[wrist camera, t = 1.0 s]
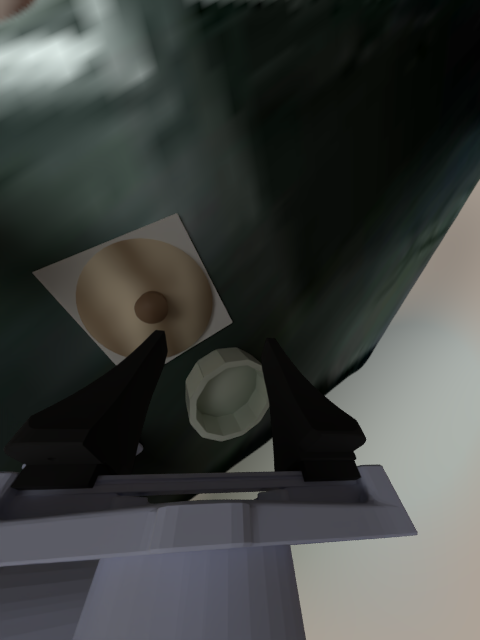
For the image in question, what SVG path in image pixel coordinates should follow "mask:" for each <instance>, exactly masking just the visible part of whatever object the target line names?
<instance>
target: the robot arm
mask: <svg viewBox="0 0 480 640" xmlns="http://www.w3.org/2000/svg"><path fill="white" fill-rule="evenodd" d="M167 353H168V348H167V341H166V335H165V331H162V330H155V331H154V332H153V333H152V334H151V335H150V336H149V337H148V338H147V339H146V340H145V341H144V342H143V343H142V344H141V345H140V346H138V347H137V348H136V349H135V350H134V351H133V352H132V353H131V354H130V355H128V356H127V357H126V358H125V359H124V360H123V361H121V362H120V363H119V364H118V365H116V366H115V367H114V368H113V369H111V370H110V371H108V372H107V373H106V374H104V375H103V376H101V377H100V378H98V379H97V380H95V381H94V382H92V383H91V384H89V385H88V386H86V387H84V388H83V389H81V390H79V391H78V392H76V393H74V394H73V395H71V396H69V397H67V398H65V399H64V400H62V401H60V402H58V403H56V404H54V405H52V406H50V407H48V408H46V409H44V410H42V411H40V412H38V413H36V414H34V415H32V416H31V417H30V418H29V419H28V420H27V421H26V422H25V423H24V424H23V426H22V427H21V428H20V429H19V430H18V432H17V433H16V434H15V435H14V436H13V438H12V439H11V440H10V441H9V442H8V444H7V445H6V446H5V448H4V452H5V454H7V455H8V456H10V457H12V458H14V459H16V460H18V461H19V462H21V463H23V464H24V465H23V466H22V469H23V470H22V471H21V473H18V472H0V640H306V638H305V632H304V625H303V619H302V614H301V608H300V601H299V595H298V589H297V584H296V578H295V571H294V565H293V560H292V554H291V548H290V545H297V544H311V543H324V542H336V541H348V540H349V541H350V540H363V539H376V538H389V537H400V536H413V535H417V531H416V529H415V527H414V525H413V523H412V521H411V520H410V518H409V516H408V514H407V512H406V510H405V508H404V506H403V505H402V503H401V501H400V499H399V497H398V495H397V493H396V491H395V490H394V488H393V486H392V484H391V482H390V480H389V478H388V476H387V475H386V473H385V471H384V469H383V467H382V466H381V465H360V466H356V464H355V461H354V460H355V459H356V456H355V454H354V452H353V451H354V450H356V449H357V448H359V447H360V446H362V445H363V444H364V443H365V441H366V437H365V435H364V433H363V432H362V429H361V428H360V426H359V424H358V422H357V421H356V420H355V419H353V418H352V417H351V416H349V415H348V414H347V413H345V412H344V411H342V410H341V409H340V408H338V407H337V406H336V405H335V404H333V403H332V402H331V401H329V400H328V399H327V398H326V397H325V396H324V395H323V394H321V393H320V392H319V391H318V390H317V389H316V388H315V387H314V386H313V385H312V384H311V383H310V382H309V381H308V380H307V379H306V378H305V377H304V376H303V375H302V374H301V373H300V372H299V370H298V369H297V368H296V367H295V365H294V364H293V363H292V362H291V360H290V359H289V358H288V356H287V355H286V354H285V352H284V351H283V349H282V348H281V346H280V345H279V344H278V342H277V341H276V339H275V338H267V339H266V342H265V345H264V349H263V352H262V355H261V363H262V371H263V376H264V381H265V385H266V390H267V395H268V400H269V406H270V415H271V425H272V437H273V450H274V469H275V472H235V473H190V474H145V475H131V474H132V470H133V466H134V461H135V457H136V455H137V454H139V453H140V452H142V450H143V446H142V445H141V444H140V443H139V440H140V436H141V432H142V428H143V425H144V421H145V417H146V414H147V410H148V407H149V404H150V400H151V397H152V395H153V392H154V390H155V387H156V385H157V382H158V380H159V377H160V375H161V372H162V370H163V367H164V364H165V361H166V357H167ZM256 491H266V492H260V493H258V498H256V499H254V500H197V501H181V502H170V503H160V504H151V503H149V502H148V499H147V497H135V496H146V495H174V494H202V493H230V492H256Z"/></svg>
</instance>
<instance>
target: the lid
mask: <svg viewBox="0 0 480 640" xmlns="http://www.w3.org/2000/svg"><path fill="white" fill-rule="evenodd" d="M76 305H77V310H78V313H79V316H80V318H81V321H82V323H83V324H84V326H85V328H86V329H87V331H88V332H89V333H90V334H91V336H92V337H93V338H94V339H95V340H96V341H98V342H99V343H100V344H101V345H103V346H104V347H105V348H107V349H109V350H111V351H112V352H114V353H117V354H119V355H121V356H125V357H127V356H128V355H130V354H131V353H132V352H133V351H134V350H135V349H136V348H137V347H138V346H140V345H141V344H142V343H143V342H144V341H145V340H146V339H147V338H148V337H149V336H150V335H151V334H152V333H153V332H154V331H155V330H162V331H165V335H166V341H167V348H168V353H167V357H171V356H174V355H176V354H179V353H181V352H182V351H184V350H186V349H187V348H189V347H190V346H192V345H193V344H194V343H195V342H196V341H197V340H198V339H199V338H200V337H201V335H202V334H203V332H204V331H205V329H206V327H207V325H208V323H209V320H210V318H211V313H212V306H213V299H212V292H211V288H210V284H209V282H208V279H207V277H206V275H205V274H204V272H203V270H202V269H201V268H200V266H199V265H198V264H197V263H196V262H195V261H194V260H193V259H192V258H191V257H190V256H189V255H188V254H186V253H185V252H184V251H182V250H180V249H179V248H177V247H175V246H173V245H171V244H168V243H165V242H162V241H158V240H153V239H144V238H137V239H128V240H122V241H119V242H116V243H113V244H111V245H109V246H107V247H105V248H103V249H102V250H100V251H99V252H98V253H96V254H95V255H94V256H93V257H92V258H91V259H90V260H89V261H88V262H87V264H86V265H85V267H84V268H83V270H82V272H81V274H80V276H79V279H78V282H77V287H76ZM167 357H166V358H167Z"/></svg>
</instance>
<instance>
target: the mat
mask: <svg viewBox="0 0 480 640" xmlns="http://www.w3.org/2000/svg"><path fill="white" fill-rule="evenodd" d="M137 238H144V239H153V240H158V241H162V242H165V243H168V244H171V245H173V246H175V247H177V248H179V249H180V250H182V251H184V252H185V253H186V254H188V255H189V256H190V257H191V258H192V259H193V260H194V261H195V262H196V263H197V264H198V265H199V266H200V268H201V269H202V270H203V272H204V274H205V275H206V277H207V279H208V282H209V284H210V288H211V292H212V299H213V306H212V313H211V318H210V320H209V323H208V325H207V327H206V329H205V331H204V332H203V334H202V335H201V337H200V338H199V339H198V340H197V341H196V342H195V343H194V344H193V345H192V346H190V347H189V348H187V349H186V350H184V351H182V352H181V353H179V354H176V355H174V356H171V357H167V358H166V361H165V363H167V362H169V361H170V360H172V359H174V358H175V357H177V356H179V355H180V354H182V353H183V352H185V351H187V350H188V349H190V348H192V347H193V346H195V345H197V344H198V343H200V342H202V341H203V340H205V339H206V338H208V337H210V336H211V335H213V334H215V333H216V332H218V331H220V330H221V329H223V328H224V327H226V326H228V325H229V324H231V323H233V322H232V320H231V318H230V316H229V315H228V313H227V311H226V309H225V307H224V305H223V303H222V301H221V299H220V297H219V295H218V293H217V291H216V289H215V287H214V285H213V283H212V281H211V279H210V277H209V275H208V273H207V271H206V269H205V267H204V265H203V263H202V261H201V259H200V257H199V255H198V253H197V251H196V249H195V247H194V246H193V244H192V242H191V240H190V238H189V236H188V234H187V232H186V230H185V228H184V226H183V224H182V222H181V220H180V218H179V216H178V214H177V213H176V214H174V215H171V216H169V217H167V218H164V219H162V220H159V221H157V222H154V223H152V224H149V225H147V226H144V227H142V228H140V229H137V230H135V231H132V232H130V233H127V234H125V235H122V236H120V237H118V238H115V239H113V240H110V241H108V242H105V243H103V244H100V245H98V246H96V247H93V248H91V249H88V250H86V251H83V252H81V253H78V254H76V255H73V256H71V257H69V258H66V259H64V260H61V261H59V262H56V263H54V264H51V265H49V266H47V267H44V268H42V269H39V270H37V271H34V272H32V273H33V274H34V275H35V277H36V278H37V279H38V280H39V281H40V282H41V283H42V284H43V285H44V286H45V288H46V289H47V290H48V291H49V292H50V293H51V294H52V295H53V296H54V297H55V299H56V300H57V301H58V302H59V303H60V304H61V305H62V306H63V307H64V308H65V310H66V311H67V312H68V313H69V314H70V315H71V316H72V317H73V318H74V319H75V321H76V322H77V323H78V324H79V325H80V326H81V327H82V328H83V329H84V330H85V332H86V333H87V334H88V335H89V336H90V337H91V338H92V339H93V340H94V341H95V342H96V344H97V345H98V346H99V347H100V348H101V349H102V350H103V351H104V352H105V353H106V355H107V356H108V357H109V358H110V359H111V360H112V361H113V362H114V363H115V364H116V365H118V364H119V363H120V362H121V361H123V360H124V359H125V358H126V357H125V356H121V355H119V354H117V353H114V352H112V351H111V350H109V349H107V348H105V347H104V346H103V345H101V344H100V343H99V342H98V341H96V340H95V339H94V338H93V337H92V336H91V334H90V333H89V332H88V331H87V329H86V328H85V326H84V324H83V323H82V321H81V318H80V316H79V313H78V310H77V305H76V287H77V282H78V279H79V276H80V274H81V272H82V270H83V268H84V267H85V265H86V264H87V262H88V261H89V260H90V259H91V258H92V257H93V256H94V255H95V254H96V253H98V252H99V251H100V250H102V249H103V248H105V247H107V246H109V245H111V244H113V243H116V242H119V241H122V240H128V239H137Z"/></svg>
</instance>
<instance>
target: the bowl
mask: <svg viewBox="0 0 480 640" xmlns="http://www.w3.org/2000/svg"><path fill="white" fill-rule="evenodd" d="M186 404H187V410H188V415H189V421H190V423H191V425H192V426H193V427H194V428H195V429H196V431H197V432H198V433H199V434H200V435H201V437H203V438H208V439H213V440H218V441H225V440H228V439H231V438H234V437H238V436H241V435H242V434H245V433H246V432H247V431H248V430H250V429H251V428H252V427H253V426H255V425H256V424H257V423H259V422H260V421H261V419H262V417H263V416H264V414H265V412H266V411H267V409H268V407H269V400H268V395H267V390H266V385H265V381H264V376H263V371H262V364H261V363H260V362H259V361H258V360H257V359H255V358H254V357H253V356H252V355H251V354H249V353H247V352H245V351H243V350H241V349H239V348H236V347H234V348H223V349H217V350H214V351H213V352H211V353H210V354H208V355H206V356H205V357H203V358H202V359H200V360H198V362H196V364H195V366H194V367H193V369H192V371H191V372H190V374H189V376H188V377H187V379H186Z"/></svg>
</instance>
